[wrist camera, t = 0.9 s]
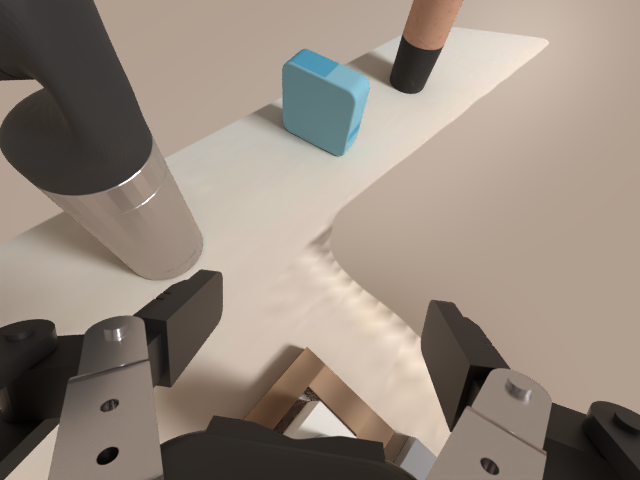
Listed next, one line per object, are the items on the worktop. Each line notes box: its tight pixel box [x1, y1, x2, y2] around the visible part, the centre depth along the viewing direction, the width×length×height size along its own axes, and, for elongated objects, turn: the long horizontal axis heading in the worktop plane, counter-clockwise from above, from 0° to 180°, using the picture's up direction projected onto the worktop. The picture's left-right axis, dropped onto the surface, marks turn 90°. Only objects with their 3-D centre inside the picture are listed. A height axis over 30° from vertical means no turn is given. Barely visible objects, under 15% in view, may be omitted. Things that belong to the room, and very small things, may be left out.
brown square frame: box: [244, 347, 395, 448], centre depth 30 cm, size 12×12×2 cm
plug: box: [282, 401, 356, 439], centre depth 24 cm, size 4×4×16 cm
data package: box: [282, 49, 370, 156], centre depth 46 cm, size 12×4×12 cm, turn 59°
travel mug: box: [390, 0, 463, 94], centre depth 53 cm, size 8×8×20 cm
